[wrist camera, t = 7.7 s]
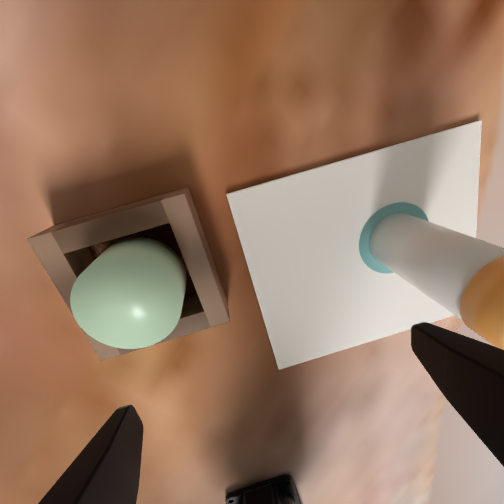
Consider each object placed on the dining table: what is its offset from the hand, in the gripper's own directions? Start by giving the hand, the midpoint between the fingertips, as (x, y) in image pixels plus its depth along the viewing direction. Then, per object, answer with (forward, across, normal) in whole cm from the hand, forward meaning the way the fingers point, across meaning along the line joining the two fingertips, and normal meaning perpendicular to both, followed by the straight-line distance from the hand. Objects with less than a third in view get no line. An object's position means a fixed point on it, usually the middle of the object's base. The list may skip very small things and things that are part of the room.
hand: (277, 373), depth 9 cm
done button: (+9, +6, -1) cm, 11 cm away
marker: (+10, -10, +2) cm, 14 cm away
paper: (+10, -8, +3) cm, 13 cm away
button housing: (+10, +6, -1) cm, 12 cm away
